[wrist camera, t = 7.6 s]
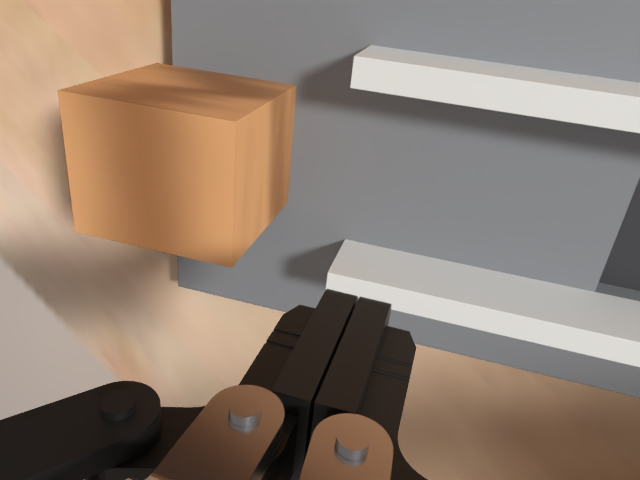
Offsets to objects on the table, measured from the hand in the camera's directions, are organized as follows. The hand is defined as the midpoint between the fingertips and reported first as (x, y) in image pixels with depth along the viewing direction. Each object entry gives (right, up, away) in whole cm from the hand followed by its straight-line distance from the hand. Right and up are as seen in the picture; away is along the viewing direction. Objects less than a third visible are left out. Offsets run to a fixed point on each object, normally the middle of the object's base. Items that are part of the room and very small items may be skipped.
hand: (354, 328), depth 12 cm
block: (-5, +6, +11) cm, 13 cm away
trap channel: (+5, +5, +10) cm, 12 cm away
